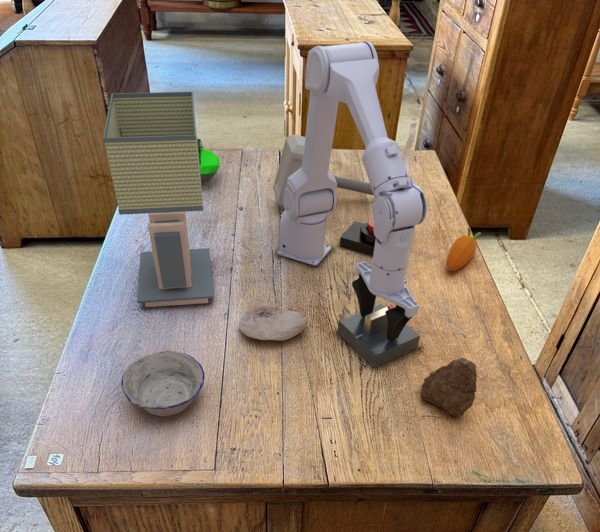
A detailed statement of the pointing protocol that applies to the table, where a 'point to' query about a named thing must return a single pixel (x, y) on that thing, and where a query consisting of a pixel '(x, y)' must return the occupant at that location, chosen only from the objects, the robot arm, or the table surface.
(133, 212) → the desk lamp
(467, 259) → the carrot
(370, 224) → the red button
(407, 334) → the panel
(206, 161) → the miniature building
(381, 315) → the silver block
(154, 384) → the bowl
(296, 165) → the hammer
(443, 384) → the rock
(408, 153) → the decorative finial
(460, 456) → the table surface
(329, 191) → the robot arm
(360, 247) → the button box
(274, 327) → the fossil
